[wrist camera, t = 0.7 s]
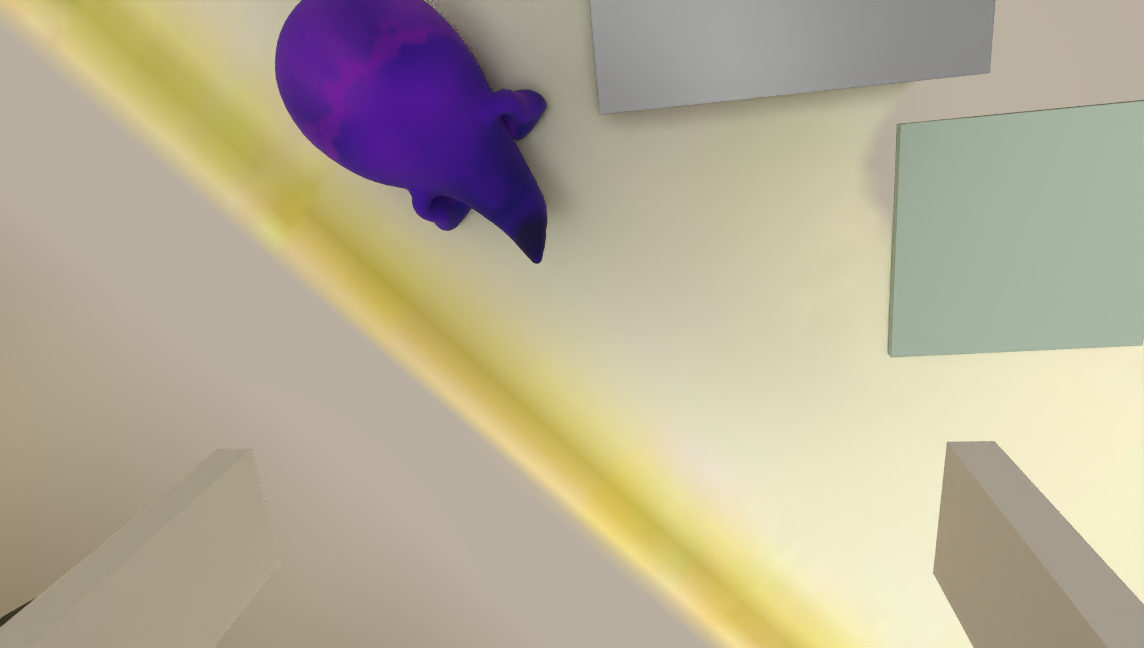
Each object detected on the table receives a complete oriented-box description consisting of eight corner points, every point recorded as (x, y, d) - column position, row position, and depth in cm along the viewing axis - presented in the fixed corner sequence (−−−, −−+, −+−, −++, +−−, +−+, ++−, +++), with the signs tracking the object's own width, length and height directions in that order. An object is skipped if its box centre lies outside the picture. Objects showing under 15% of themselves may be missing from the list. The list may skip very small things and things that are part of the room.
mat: (896, 123, 34) (900, 124, 33) (1172, 97, 32) (1181, 97, 31) (887, 353, 37) (891, 357, 37) (1134, 341, 35) (1142, 345, 35)
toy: (608, 151, 37) (382, -57, 34) (608, 189, 28) (301, -90, 25) (506, 264, 40) (288, 82, 36) (477, 331, 31) (186, 98, 27)
